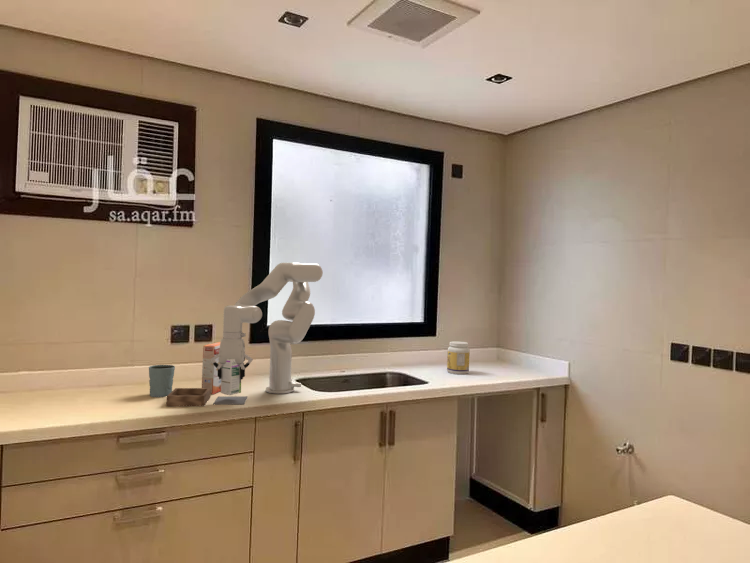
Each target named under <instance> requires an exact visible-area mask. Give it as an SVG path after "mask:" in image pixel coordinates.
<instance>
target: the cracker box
mask: <svg viewBox="0 0 750 563" xmlns="http://www.w3.org/2000/svg"><path fill="white" fill-rule="evenodd" d="M220 342H221V341H217V342H214V343H209V344H205V345H203V348H202V369H201V388H211V394H210V395H215V394H216V393H219V392H220V393H221V379H219V377H218V369H217V368H216V367H215V366H214V365H213V363H212V362H211V360H210V359H211V358H212V357H214V356H216V355H217V354H219V349H220ZM215 361H216V362H217V363H218V364H220V363H219V357H218V358H217V359H215Z"/></svg>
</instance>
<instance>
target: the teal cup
mask: <svg viewBox="0 0 750 563" xmlns="http://www.w3.org/2000/svg"><path fill="white" fill-rule="evenodd" d="M175 367H176V366H175V365H172V364H156V365H155V364H154V365H150V366H148V377H149V380H148V382H149V396H150V397H151V398H167V397H166V396H168V395H169V394H170V393H171V392H172V391H173V384H174V376H175V369H176V368H175Z"/></svg>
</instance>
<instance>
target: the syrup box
mask: <svg viewBox="0 0 750 563" xmlns="http://www.w3.org/2000/svg"><path fill="white" fill-rule="evenodd" d="M241 369H242V368H241V366H240V364H236V362H235V359H227V360H226V363H225V364H223V365H222V366H221V391H220V394H223V395H225V396H233V395H237V394H241V393H242V379H241Z"/></svg>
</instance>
